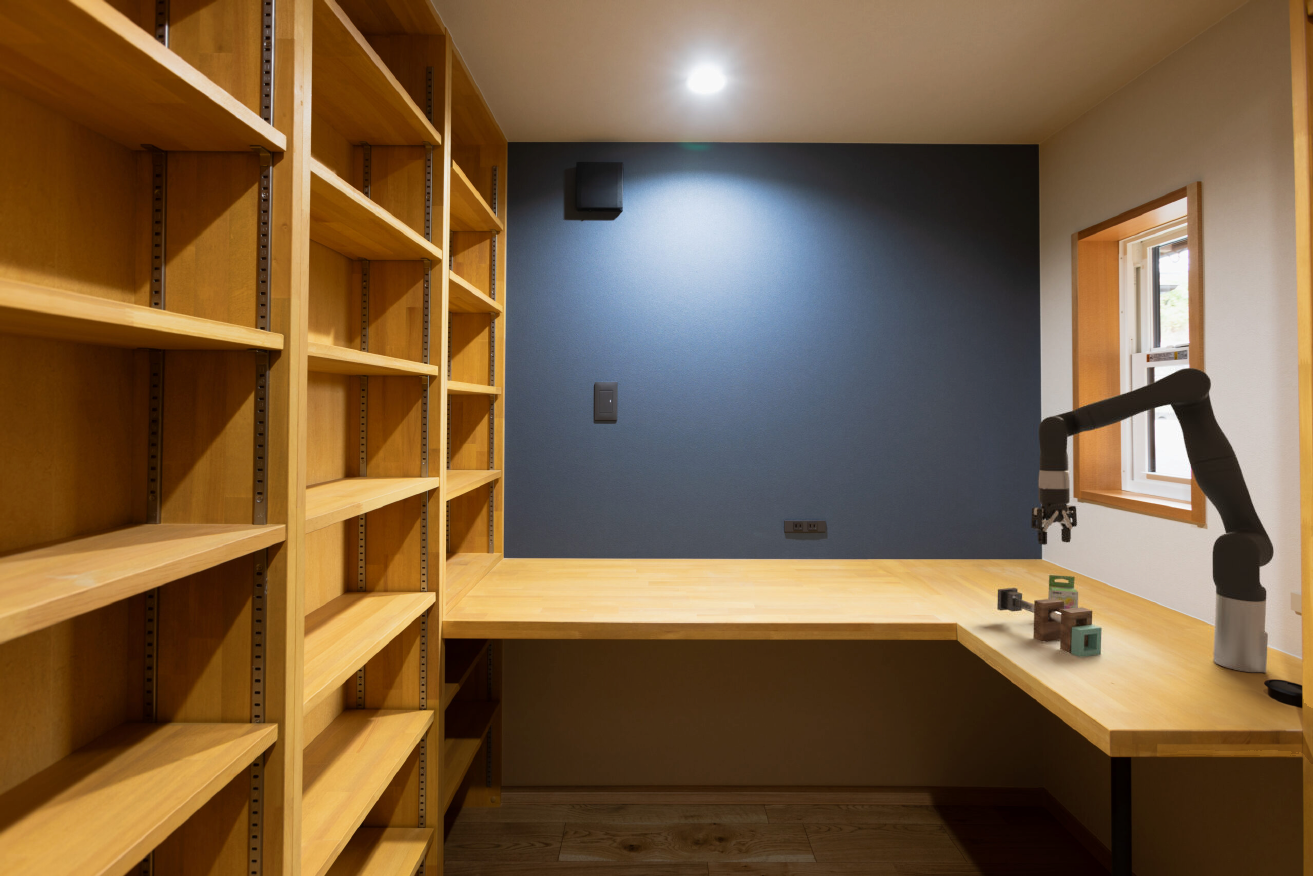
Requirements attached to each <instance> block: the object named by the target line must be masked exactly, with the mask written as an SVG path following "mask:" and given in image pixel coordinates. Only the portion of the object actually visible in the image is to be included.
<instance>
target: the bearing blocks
mask: <svg viewBox="0 0 1313 876" xmlns="http://www.w3.org/2000/svg"><path fill="white" fill-rule="evenodd" d="M1033 604H1034V613H1033V639H1034V640H1036V641H1039V642H1042V643H1044V642H1045V643H1047V642H1054V641H1060V643H1059V644H1060V645H1059V649H1060V651H1064V652H1066V653H1068V654H1071V642H1072V627H1076V619H1078V621H1079V624H1078V626H1085V625H1093V610H1092V609H1088V608H1085V607H1082V606H1081V607H1079V606H1078V608H1070V609H1064V601H1062V600H1058V599H1055V598H1052V599H1048V598H1044V599H1034V602H1033ZM1048 609H1050V610H1053V611H1056V612H1058V613H1061V623H1060V622H1057V621H1055V620H1052V619H1049V618H1048ZM1088 638H1089V634H1088V635H1084V647H1086V646H1088Z"/></svg>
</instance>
